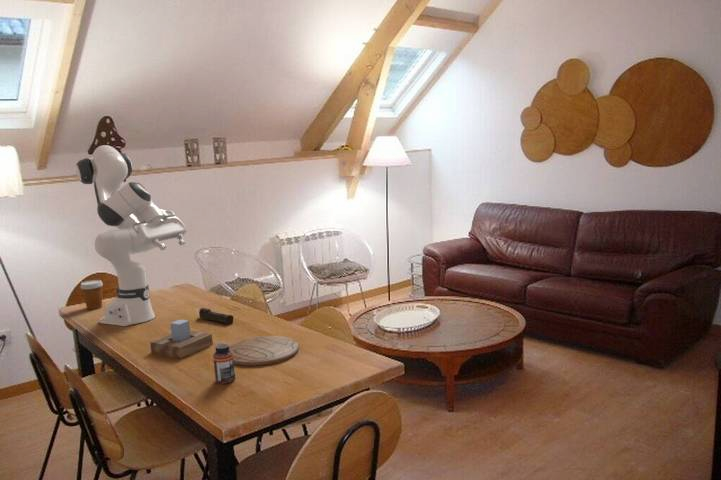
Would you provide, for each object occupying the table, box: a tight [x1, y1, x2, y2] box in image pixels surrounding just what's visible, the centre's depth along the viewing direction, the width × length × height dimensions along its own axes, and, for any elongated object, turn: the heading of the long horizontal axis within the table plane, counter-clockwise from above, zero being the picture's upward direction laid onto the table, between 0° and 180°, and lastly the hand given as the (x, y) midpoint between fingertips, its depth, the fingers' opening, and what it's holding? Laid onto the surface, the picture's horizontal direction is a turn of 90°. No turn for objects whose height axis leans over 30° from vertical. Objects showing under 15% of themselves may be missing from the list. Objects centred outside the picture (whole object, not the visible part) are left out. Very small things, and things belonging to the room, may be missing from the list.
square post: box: [170, 318, 191, 342], centre depth 211 cm, size 4×4×10 cm
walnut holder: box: [149, 329, 214, 360], centre depth 211 cm, size 15×15×4 cm
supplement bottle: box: [212, 343, 236, 385], centre depth 181 cm, size 6×6×11 cm
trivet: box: [229, 335, 299, 368], centre depth 204 cm, size 25×25×2 cm
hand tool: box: [198, 307, 234, 326], centre depth 242 cm, size 19×4×5 cm, turn 52°
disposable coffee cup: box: [79, 279, 104, 311], centre depth 270 cm, size 10×10×12 cm
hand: (173, 246), depth 222 cm, fingers open, 8 cm apart
